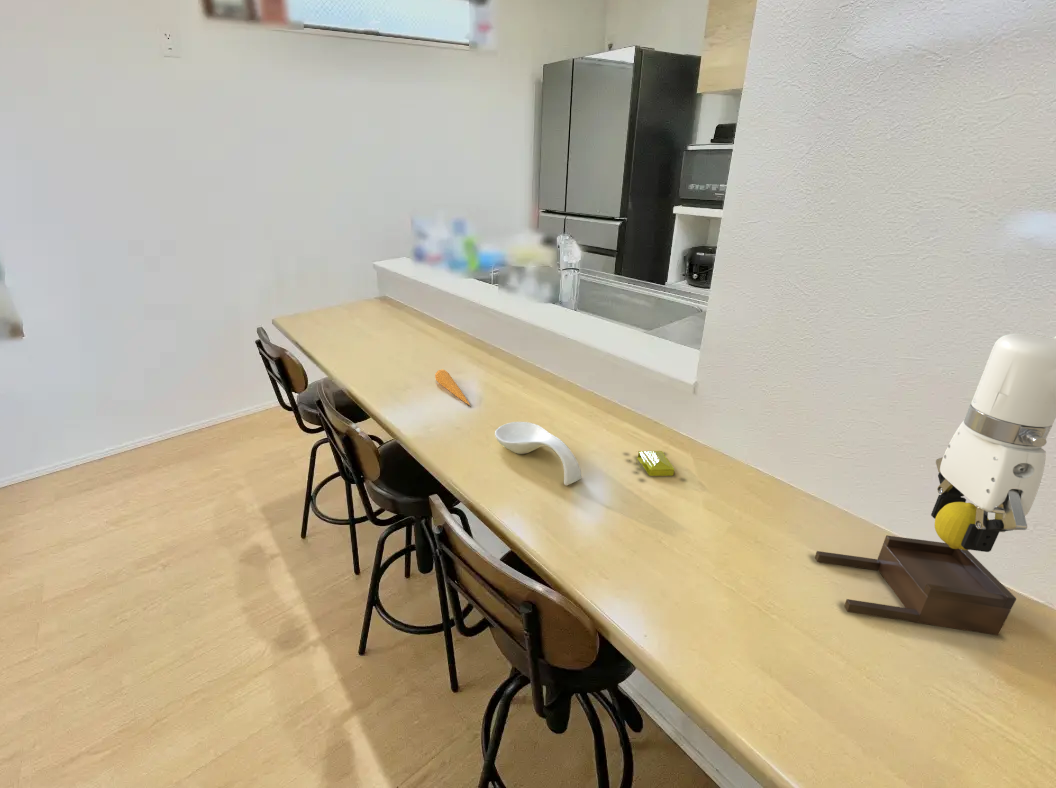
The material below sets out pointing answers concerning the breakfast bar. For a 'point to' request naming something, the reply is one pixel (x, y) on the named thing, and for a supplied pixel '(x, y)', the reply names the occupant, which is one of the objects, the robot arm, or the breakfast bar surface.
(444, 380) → the carrot
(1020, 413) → the robot arm
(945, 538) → the lemon
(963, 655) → the breakfast bar surface
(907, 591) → the brown wooden wheelbarrow
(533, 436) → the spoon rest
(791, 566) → the breakfast bar surface
